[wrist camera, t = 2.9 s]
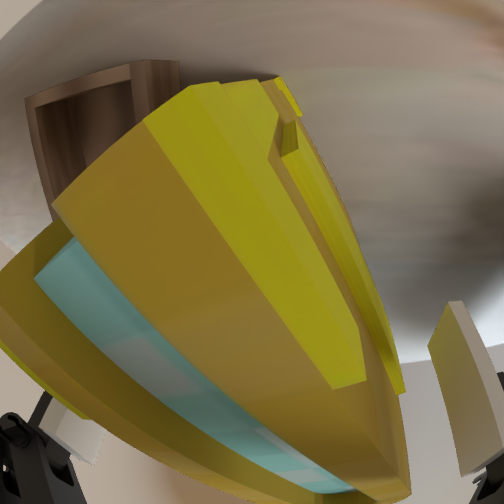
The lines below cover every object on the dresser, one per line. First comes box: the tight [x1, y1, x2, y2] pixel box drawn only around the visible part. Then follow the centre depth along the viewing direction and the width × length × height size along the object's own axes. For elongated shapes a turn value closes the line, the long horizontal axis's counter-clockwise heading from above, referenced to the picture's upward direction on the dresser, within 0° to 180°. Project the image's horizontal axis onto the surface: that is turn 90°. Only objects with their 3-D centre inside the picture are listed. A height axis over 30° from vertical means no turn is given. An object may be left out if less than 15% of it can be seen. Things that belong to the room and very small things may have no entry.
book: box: [0, 76, 412, 504], centre depth 17 cm, size 17×7×25 cm, turn 31°
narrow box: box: [25, 60, 181, 221], centre depth 27 cm, size 12×22×7 cm, turn 3°
